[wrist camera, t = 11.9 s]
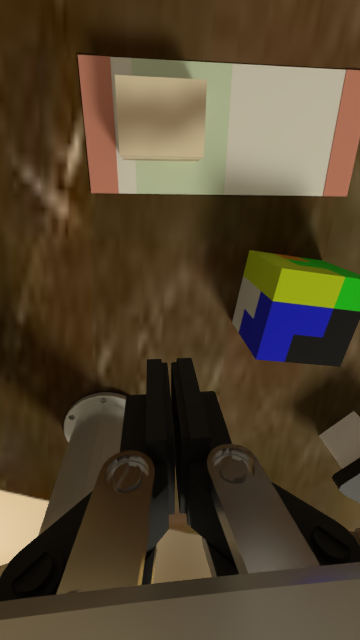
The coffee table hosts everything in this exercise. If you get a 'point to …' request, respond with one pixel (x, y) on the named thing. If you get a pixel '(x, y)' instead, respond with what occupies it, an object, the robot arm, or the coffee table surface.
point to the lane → (244, 130)
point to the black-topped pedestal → (346, 454)
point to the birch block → (161, 118)
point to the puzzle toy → (297, 309)
